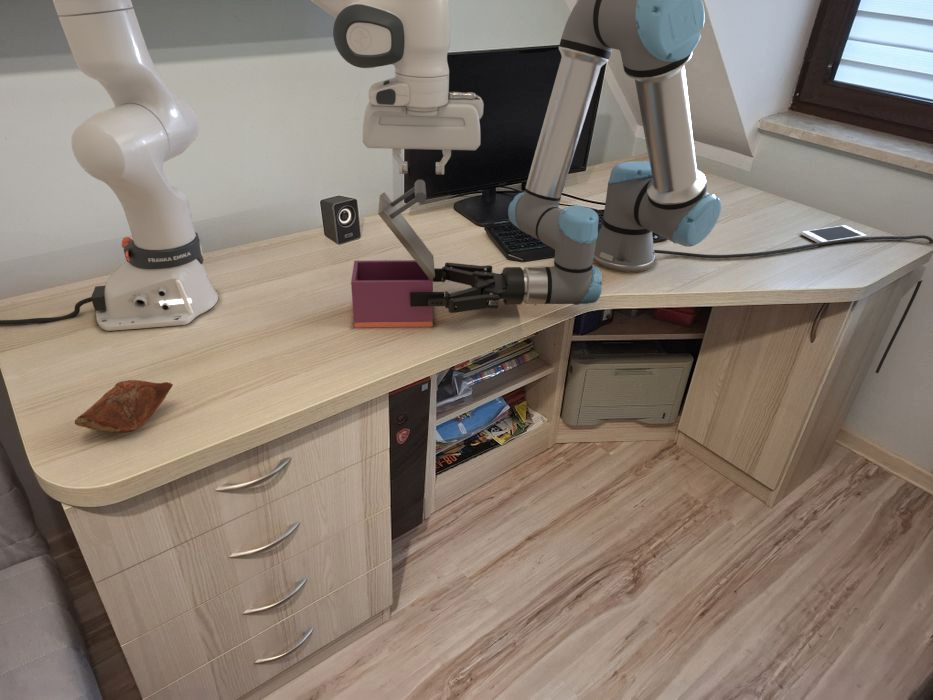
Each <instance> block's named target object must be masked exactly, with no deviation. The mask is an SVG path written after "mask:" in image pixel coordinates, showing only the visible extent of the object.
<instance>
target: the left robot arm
mask: <svg viewBox="0 0 933 700" xmlns="http://www.w3.org/2000/svg"><path fill="white" fill-rule="evenodd" d="M309 1H310V2H312V3H313V4H315V5H316V6H318V7H319V8H320V9H322V10H323V11H324V12H326V13H327V14H329V15H330V16H331V17H333V18H334V23H333V29H332V36H333V37H332V38H333V42H334V45H335V48H336V50H337V52H338V54H339V55H340V56H341V58H342V59H343V60H344V61H345V62H347V63H348V64H350V65H352V66H353V67H356V68H360V69H373V68H377V67H384V66H389V65H393V66H394V77H391V78H388V79H387V78H386V79H385V80H381V81H377V82H374V83H372V84H371V86H370V87H369V89H368V101H369V102H368V103H367V105H366V107H365V111H364V116H363V123H362V144H363V145H364V146H365V147H366V148H367V149H392V156H393V158H394V160H395V162H397V165H398V172H399V174H400V175H408V174H409V173H408V172H409V171H408V167H409V165H408V161H405V160H403V159H402V156H401V153H402V150H438V151H439V150H440V151H442V158H441V160H440V161H435V175H445V166H446V164H447V163H448V161H449V160H450V159H451V157H452V151H477V149H478V148H479V147H480V146H481V123H480V120H481V119H482V118H483V116H484V110H485V109H484V108H485V103H484V100H483V98H482V97H481V96H480V95H478V94H476V93H475V92H471V91H470V92H469V91H467V92H460V91H450V67H449V63H448V53H449V49H450V45H451V13H450V12H451V11H450V2H449V0H309ZM52 4H53V6H54V9H55V12H56V14H57V17H58V20H59V22H60V25H61V27H62V31H63V33H64V36H65V38H66V41H67V44H68V46H69V49H70V52H71V54H72V57H73V59H74V61H75V64H76V66H77V68H78V70H80V72H82V73H83V74H84V75H85V76H87V77H88V78H91V79H93V80H96V81H97V82H98V83H99V84H100V85H101V86H102V87H103V89H104V90H105V91H106V93H107V94H108V95H109V97H110V99H111V100H112V102H113V105H114V107H111V108H109V109H105V110H103V111H100V112H96V113H94V114H92V115H91V116H90V117H88V118H87V119H86V120H85V121H83V122H82V123H81V124H80V125H78V126H77V127H76V128H75V129H74V131H73V132H72V136H71V150H72V153H73V156H74V157H75V160H76V161H77V163H78V165H79V166H80V167H81V169H82V170H84V171H85V172H86V173H87V174H88V175H90V176H91V177H93V178H94V179H96V180H98V181H101V182H103V183H104V184H105V185H107V186H108V187H109V188H110V189H111V191H112V192H113V193H114V195H115V196H116V198H117V199H118V201H119V203H120V205H121V207H122V209H123V212H124V215H125V219H126V221H127V224H128V227H129V231H130V234H131V237H129V236H125V237H123V238H122V240H121V247H122V248H123V253H124V257H125V260H126V261H125V262H123V264H122V265H121V266H119V267H118V268H117V269H116V270H115V271H114V272H113V273H111V274H110V275H109V277H108V278H107V280H106V282H105V285H96V286H95V287H94V289H93V291H92V293H91V296H90V297H87V298H82V299H81V300H79V301H78V302H76V304H75V305H74V310H73V311H72V312H70V313H68V314H66V315H62V316H61V315H60V316H55V317H54V316H53V317H33V318H21V319H0V326H3V325H4V326H5V325H7V326H10V325H26V324H36V323H52V322H58V321H63V320H68V319H72V318H74V317H77V315H79V314H80V311H81V307H82V306H84V305H86V304H88V303H92V306H93V309H94V311H95V317H96V322H97V324H98V326H99V327H100V328H101V329H102V330H103V331H106V332H111V331H112V332H113V331H125V330H137V329H139V330H140V329H151V328H164V327H174V326H184V325H188V324H190V323H191V322H192V321H194V319H195V318H197V317H198V316H200V315H202V314H204V313H206V312H208V311H209V310H211V309H212V308H213V307H214V306H215V305H216V304H217V303H218V300H219V295H218V292H217V291H216V290H215V288H214V286H213V284H212V282H211V280H210V278H209V274H208V272H207V270H206V267H205V264H204V258H205V257H204V256H205V255H204V251H203V246H202V241H201V239H200V237H199V234H198V232H197V231H196V230H195V229H196V228H195V225H194V224H195V223H194V219H193V216H192V211H191V207H190V201H189V199H188V196H187V194H185V193H184V192H183V191H182V190H180V189H179V188H177V187H175V186H173V185H171V184H170V182H169V181H168V179H167V176H166V175H165V174H166V173H165V172H164V167H163V166H164V163H166V162H168V161H170V160H171V159H174V158H176V157H178V156H180V155H182V154H183V153H184V152H185V151H186V150H187V149H188V148H189V147H190V146H191V145H192V144H193V142H194V141H196V139H197V137H198V134H199V122H198V119H197V116H196V113H195V112H194V110H193V109H192V107H191V106H190V105H189V103H188V102H186V101H185V100H184V99H182V98H181V97H179V96H178V95H176V94H175V93H174V92H173V90H171V89H170V88H169V86H168V84H167V83H166V82H165V81H164V80H165V79H163V77H162V76H161V74H160V73H159V71H158V69H157V67H156V65H155V64H154V61H153V59H152V57H151V55H150V52H149V50H148V47H147V43H146V41H145V38H144V35H143V33H142V29H141V26H140V24H139V21H138V17H137V15H136V12H135V8H134V6H133V2H132V0H52Z"/></svg>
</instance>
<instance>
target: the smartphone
mask: <svg viewBox="0 0 933 700" xmlns="http://www.w3.org/2000/svg"><path fill="white" fill-rule="evenodd" d="M801 235H802V236H803V237H806V238H807V239H809V240H811V241H814V242H815V243H819V242H827V241H833V240H840V239H847V238H858V237H867V234H865V233H863V232H861V231H859V230H856V229H854V228H852V227H850V226H848V225H846V224H845V225H844V224H843V225H837V226H831V227H824V228H817V229H810V230H803V231H802V232H801Z"/></svg>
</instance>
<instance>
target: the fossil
mask: <svg viewBox="0 0 933 700" xmlns="http://www.w3.org/2000/svg"><path fill="white" fill-rule="evenodd" d="M173 386H174V384H173V383H172V382H168V381H164V382H152V381H146V380H139V379H129V380H122V381H119V382H117V383H116V384H115V385H114V386H113V387H112V388H111V389H109V390H108V391H106V392H105V393H104V394H103V395H102V396H101V397H100V398H99V399H98V400H97V401H96V402H94V403H93V404H92V406H90V407H88V409H86V410H85V411H83V413H81V414H80V415H79V416H77V417H76V419H75V420H74V425H76V426H77V427H81V428H86V429H88V430H89V429H90V430H92V431H93V430H95V431H99V432H110V433H116V434H117V433H120V434H125V433H131V432H133V431H136V430H138V429H140V428H141V427H142V426H144V425H145V424H146V423H147V421H148V420H149V419H150V418H151V417H152V416H153V415H154V414H155V413H156V411H157V409H159V407H160V406H161V404H162V403H163V402H164V400H165V398H166V397H167V395H168V393H169V392H170V391H171V389H172V388H173Z"/></svg>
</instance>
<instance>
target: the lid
mask: <svg viewBox="0 0 933 700" xmlns="http://www.w3.org/2000/svg"><path fill="white" fill-rule="evenodd" d="M426 185H427V184H426V181H425V180H424V179H416V181H415V182H414V186H413V187H412V188H410V189H409V190H408V191H406V192H404V193H403V194H401V195H400V196H399V197H397V198H396V199H394V200H391V199H390V197H389V196H388V195H387V194H386V192H382V193H381V194H379V200H378V210H377V214H378V216H379V217H380V218H381V220H382V221H383V222H384V223H385V225H386V226H387V227H388V228H389V230H390V231H391V232H392V233H393V235H394V236H395V237H396V238H397V240H398V241H399V242H400V244H401V245H402V246H403V248H405V250H406V251H407V252H408V254H410V256H411V258H412V260H415V261H416V262H417V264H418V265H419V266H420V267H421V269H422V270H423V271H424V272H425V274H426V275H427V276H428V277H429V279H430V280H431V279H433V278H435V269H434V268H435V259H434V255H433V253H432V252H431V251H430V249H429V247H427V245H426V244H425V243H424V242H423V241H422V239H421V238H420V237H419V235H418V234H417V232H416V231H415V230H414V228H413V227H412V225H410V223H409V222H408V221H407V219H406V218H405V216H403V214H402V213H404V212H405V211H407V210H408V209H409V208H411V207H412V206H413V205H415V204H417V203H419V204H423V203H425V202H426V201H427V186H426ZM413 194H414V198H412V199H411V200H410V201H408V202H407V203H405V204H403V205H402V206H400V207H399V208H397V205H398V204H400V203H402V202H403V201H404V200H405V199H407V198H408V197H409V196H411V195H413Z"/></svg>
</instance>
